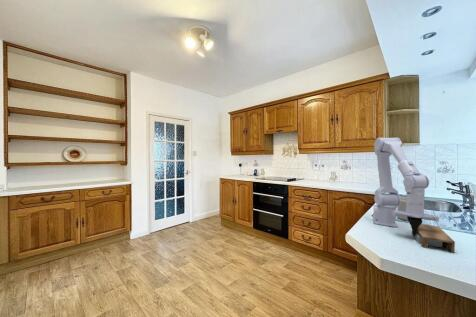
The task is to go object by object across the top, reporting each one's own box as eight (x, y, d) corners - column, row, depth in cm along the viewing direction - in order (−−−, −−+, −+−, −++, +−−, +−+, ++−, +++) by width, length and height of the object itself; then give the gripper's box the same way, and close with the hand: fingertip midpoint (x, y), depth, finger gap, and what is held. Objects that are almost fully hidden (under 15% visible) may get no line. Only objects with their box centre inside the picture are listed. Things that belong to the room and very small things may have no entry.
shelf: (422, 247, 78) (422, 236, 78) (412, 231, 93) (412, 222, 93) (454, 253, 73) (454, 241, 73) (438, 236, 88) (438, 226, 88)
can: (416, 222, 106) (417, 199, 106) (398, 219, 110) (399, 197, 110) (413, 218, 112) (414, 197, 112) (396, 216, 116) (397, 195, 116)
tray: (418, 243, 81) (418, 236, 81) (412, 234, 90) (413, 228, 90) (442, 247, 78) (442, 240, 78) (434, 238, 86) (434, 232, 86)
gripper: (394, 202, 86) (393, 234, 86) (441, 207, 78) (440, 242, 79) (392, 199, 92) (391, 229, 92) (436, 204, 84) (435, 236, 85)
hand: (413, 235), depth 86 cm, fingers closed
